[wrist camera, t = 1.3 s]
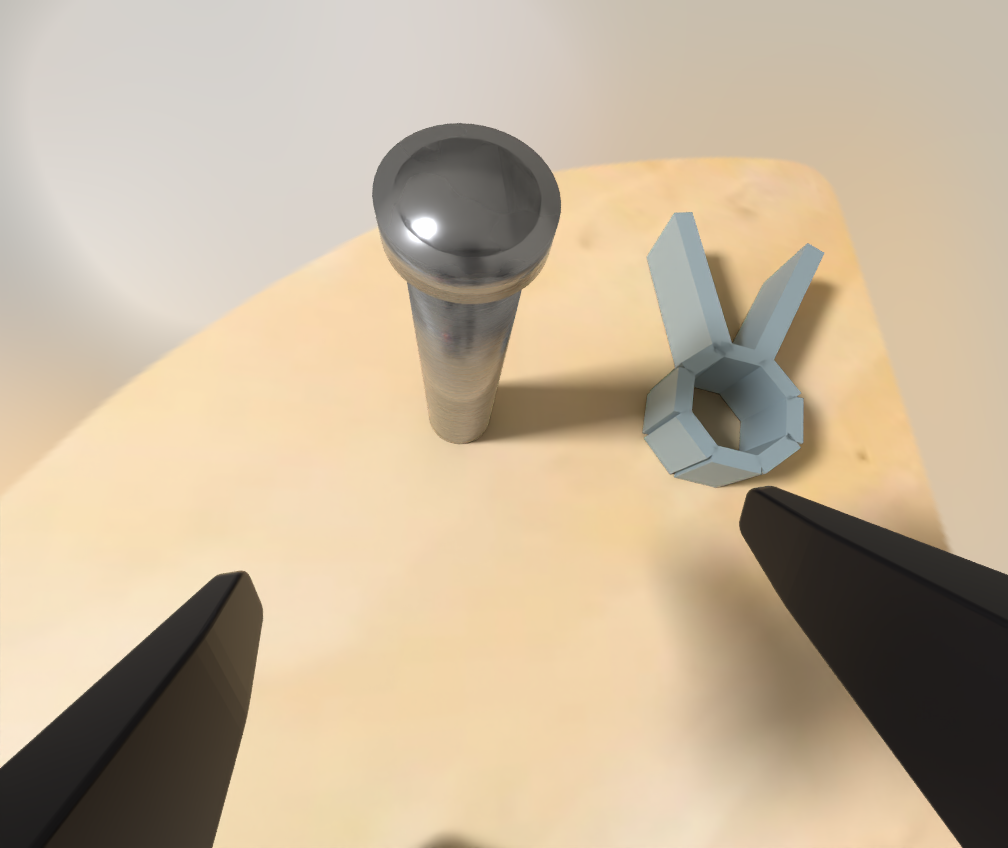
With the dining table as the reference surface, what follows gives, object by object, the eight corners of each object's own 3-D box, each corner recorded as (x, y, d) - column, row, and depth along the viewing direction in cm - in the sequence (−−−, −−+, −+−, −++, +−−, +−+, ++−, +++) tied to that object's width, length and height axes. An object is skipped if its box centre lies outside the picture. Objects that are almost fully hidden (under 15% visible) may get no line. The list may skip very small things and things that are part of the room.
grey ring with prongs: (772, 501, 23) (826, 490, 19) (616, 463, 22) (645, 445, 19) (778, 287, 27) (824, 247, 24) (647, 252, 27) (675, 207, 23)
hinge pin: (509, 436, 22) (591, 245, 9) (436, 463, 22) (409, 298, 8) (481, 369, 23) (518, 108, 10) (410, 393, 22) (347, 144, 9)
